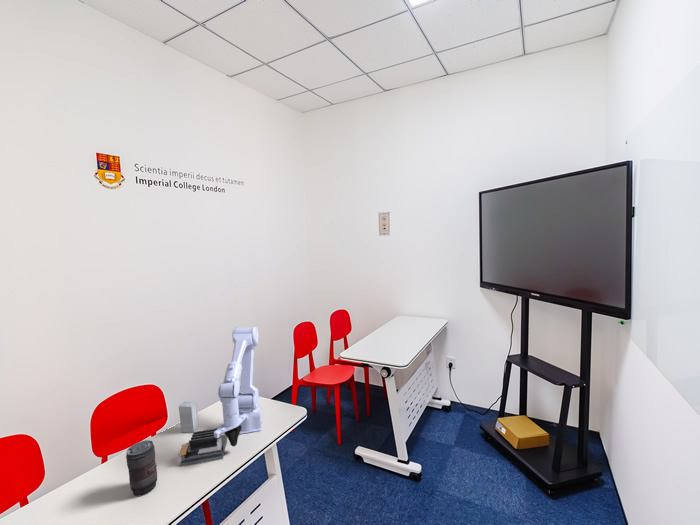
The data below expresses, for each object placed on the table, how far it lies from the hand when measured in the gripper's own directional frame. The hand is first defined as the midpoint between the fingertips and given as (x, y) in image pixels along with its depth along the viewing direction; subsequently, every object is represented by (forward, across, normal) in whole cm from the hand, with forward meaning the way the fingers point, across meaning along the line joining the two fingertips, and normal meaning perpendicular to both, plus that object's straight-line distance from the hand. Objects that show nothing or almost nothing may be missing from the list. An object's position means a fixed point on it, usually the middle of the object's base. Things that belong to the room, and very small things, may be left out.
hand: (233, 444), depth 129 cm
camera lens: (+3, +28, -12) cm, 30 cm away
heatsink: (+3, +5, -11) cm, 12 cm away
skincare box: (+3, 0, -30) cm, 30 cm away
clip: (+2, +6, -6) cm, 9 cm away
